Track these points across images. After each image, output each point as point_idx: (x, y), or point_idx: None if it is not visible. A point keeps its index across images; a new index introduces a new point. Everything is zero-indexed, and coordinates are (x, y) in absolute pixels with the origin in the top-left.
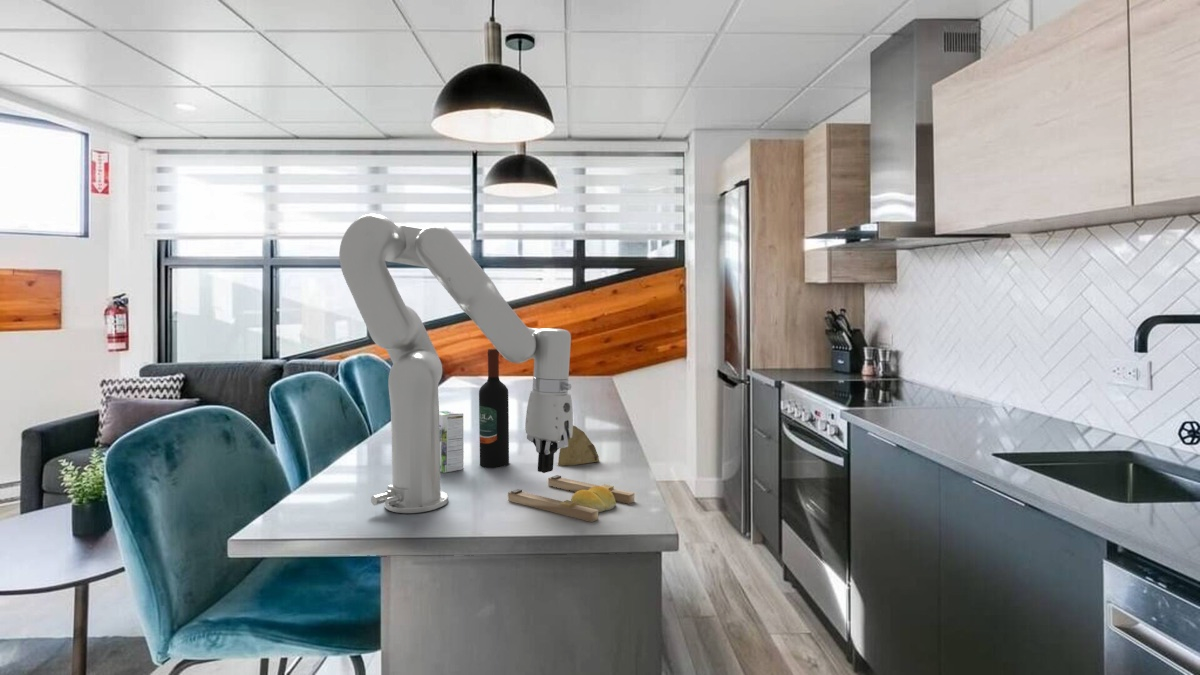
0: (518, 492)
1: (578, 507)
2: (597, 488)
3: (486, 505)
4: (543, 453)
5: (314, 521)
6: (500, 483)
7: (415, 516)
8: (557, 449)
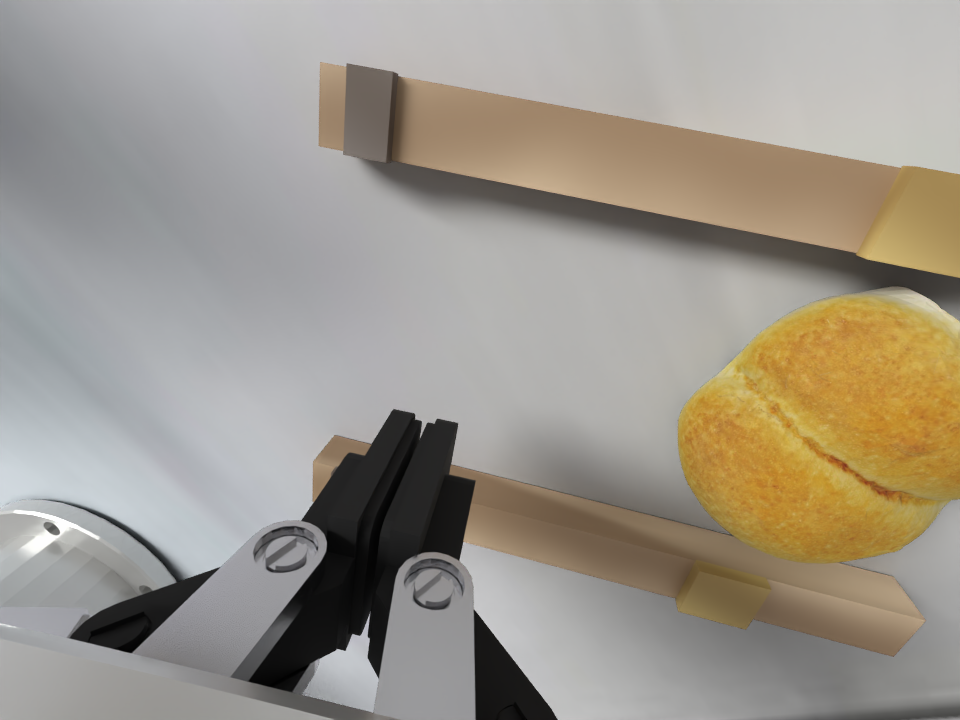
0: None
1: (790, 609)
2: (919, 467)
3: None
4: (350, 608)
5: None
6: (78, 235)
7: None
8: (508, 665)
